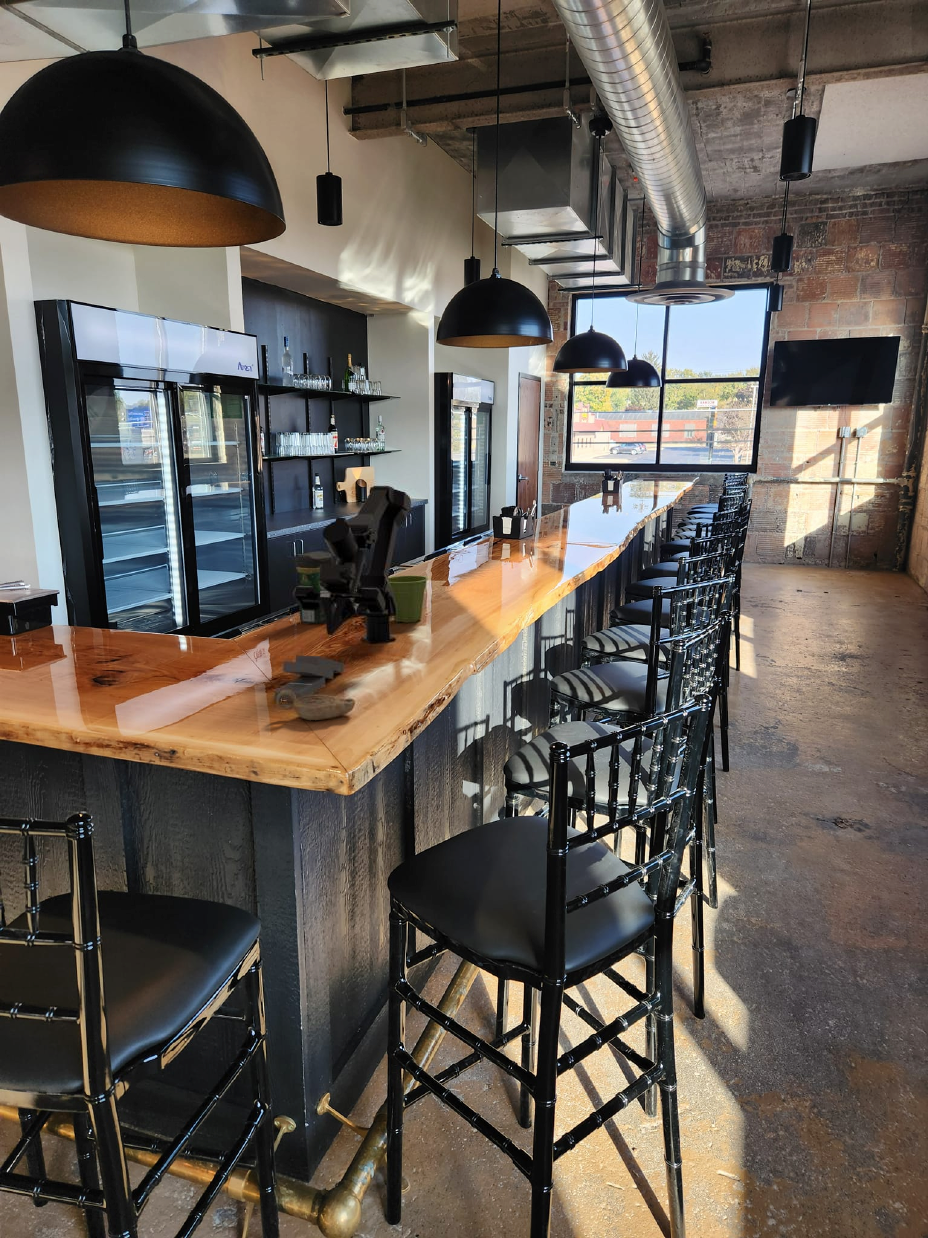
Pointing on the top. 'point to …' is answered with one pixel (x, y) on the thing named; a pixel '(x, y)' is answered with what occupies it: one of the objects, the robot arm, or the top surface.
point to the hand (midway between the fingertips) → (329, 633)
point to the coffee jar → (312, 581)
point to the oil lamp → (316, 705)
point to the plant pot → (408, 597)
